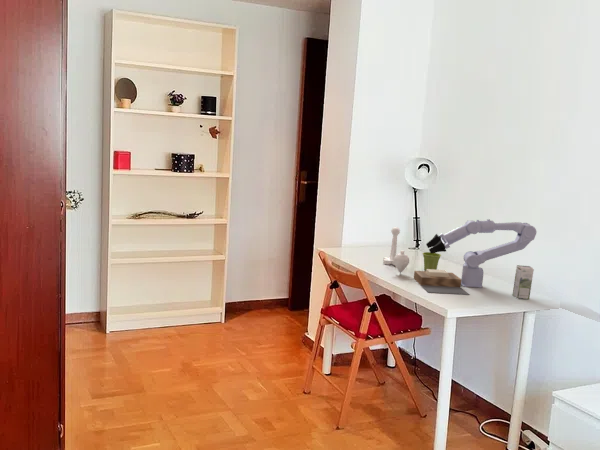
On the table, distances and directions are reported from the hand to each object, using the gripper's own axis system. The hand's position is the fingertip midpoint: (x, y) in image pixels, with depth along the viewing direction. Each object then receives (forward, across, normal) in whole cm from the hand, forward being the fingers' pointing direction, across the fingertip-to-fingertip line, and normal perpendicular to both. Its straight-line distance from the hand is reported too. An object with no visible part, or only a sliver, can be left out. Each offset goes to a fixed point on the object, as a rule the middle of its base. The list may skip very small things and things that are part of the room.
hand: (428, 248), depth 297 cm
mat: (+2, +18, +14) cm, 23 cm away
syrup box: (-26, +21, +33) cm, 47 cm away
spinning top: (+18, -7, +9) cm, 21 cm away
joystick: (+22, -29, +11) cm, 38 cm away
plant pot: (+4, -21, +20) cm, 30 cm away
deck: (+4, +5, +15) cm, 17 cm away
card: (+2, +5, +12) cm, 13 cm away
